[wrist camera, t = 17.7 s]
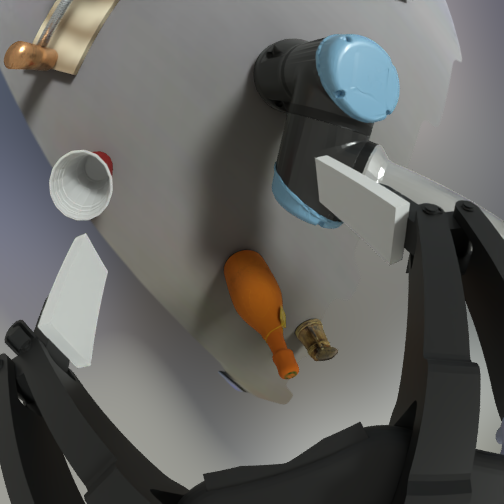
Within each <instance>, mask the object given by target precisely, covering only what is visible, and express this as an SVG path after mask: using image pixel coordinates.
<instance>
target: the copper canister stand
mask: <svg viewBox="0 0 504 504" xmlns="http://www.w3.org/2000/svg"><path fill="white" fill-rule="evenodd" d="M60 2H61V0H56V2H55V4H54V5H53V7H52V8H51V10H50V12H49V13H48V15H47V17H46V19H45V20H44V22H43V24H42V26H41V28H40V30H39V31H38V33H37V35H36V37H35V39H34V41H33V43H32V44H35V45H36V44H37V42H38V40H39V38H40V36H41V34H42V33H43V31H44V29H45V27H46V25H47V23H48V22H49V20H50V18H51V16H52V15H53V13H54V11H55V10H56V8H57V6H58V5H59V3H60ZM118 2H119V0H73V1H72V3H71V5H70V6H69V8H68V9H67V11H66V13H65V14H64V16H63V18H62V19H61V21H60V23H59V24H58V26H57V28H56V30H55V32H54V34H53V35H52V37H51V39H50V41H49V43H48V45H47V48H51V49H54V50H56V51H57V53H58V60H57V62H56V64H55V65H54V66H53V67H52V68H51V69H54V70H58V71H62V72H65V73H69V74H73V75H77V73H78V71H79V69H80V67H81V65H82V63H83V61H84V59H85V57H86V55H87V53H88V51H89V49H90V47H91V45H92V43H93V42H94V40H95V38H96V36H97V35H98V33H99V31H100V29H101V28H102V26H103V25H104V23H105V21H106V20H107V18H108V17H109V15H110V13H111V12H112V10H113V9H114V7H115V6H116V5H117V3H118Z"/></svg>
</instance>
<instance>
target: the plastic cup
mask: <svg viewBox="0 0 504 504" xmlns="http://www.w3.org/2000/svg"><path fill="white" fill-rule="evenodd" d="M112 171H113V163H112V161H111V159H110V157H109V156H108V155H107V154H106V153H103V152H100V151H99V152H89V151H87V150H76V151H71V152H69V153H67V154H66V155H64V156H62V157H61V158H60V159H59V160H58V162H57V163H56V164H55V166H54V167H53V169H52V173H51V177H50V181H49V185H50V195H51V197H52V199H53V202H54V204H55V206H56V207H57V208H58V209H59V210H60V211H61V212H62V213H63V214H64V215H65V216H67V217H69V218H72V219H74V220H90V219H92V218H94V217H96V216H98V215H100V214H101V213H102V211H103V210H104V209H105V208H106V207H107V206H108V204H109V201H110V198H111V195H112V192H113V189H112Z"/></svg>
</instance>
